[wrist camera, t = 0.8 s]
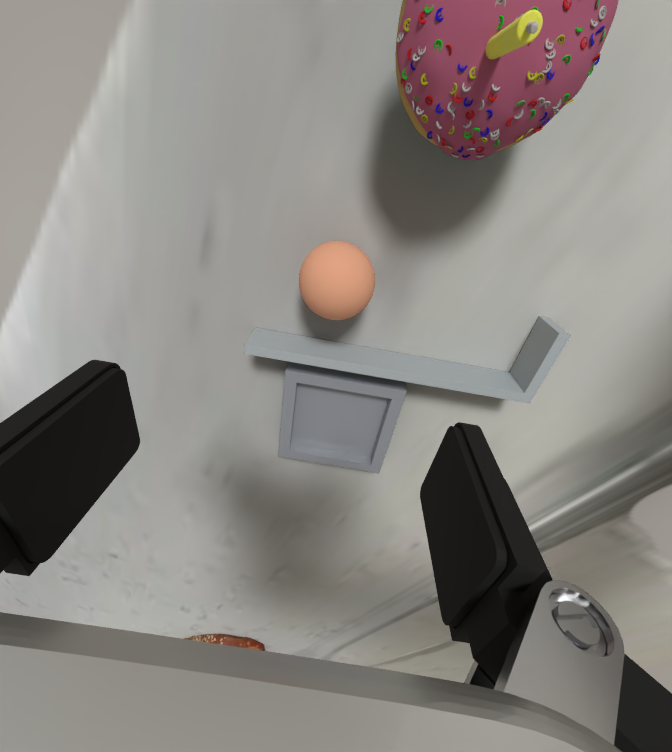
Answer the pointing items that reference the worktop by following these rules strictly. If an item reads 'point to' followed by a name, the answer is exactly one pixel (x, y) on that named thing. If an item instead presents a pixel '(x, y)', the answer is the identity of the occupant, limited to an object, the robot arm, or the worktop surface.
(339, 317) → the ball
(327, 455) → the dish
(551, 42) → the cupcake
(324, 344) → the wall
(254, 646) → the bread slice
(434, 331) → the worktop surface
